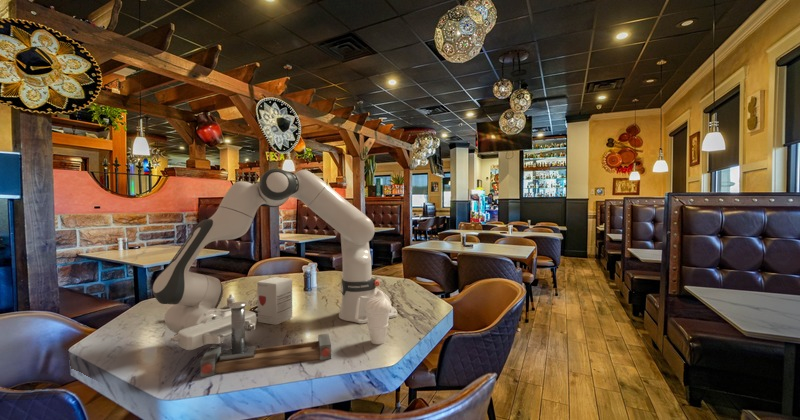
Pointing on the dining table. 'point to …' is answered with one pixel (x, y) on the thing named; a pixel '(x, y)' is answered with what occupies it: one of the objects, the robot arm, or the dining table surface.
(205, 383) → the dining table surface
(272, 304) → the supplement box
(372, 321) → the soft serve ice cream cone
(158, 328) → the dining table surface
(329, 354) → the rail
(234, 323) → the carriage
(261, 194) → the robot arm
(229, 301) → the eye dropper bottle
